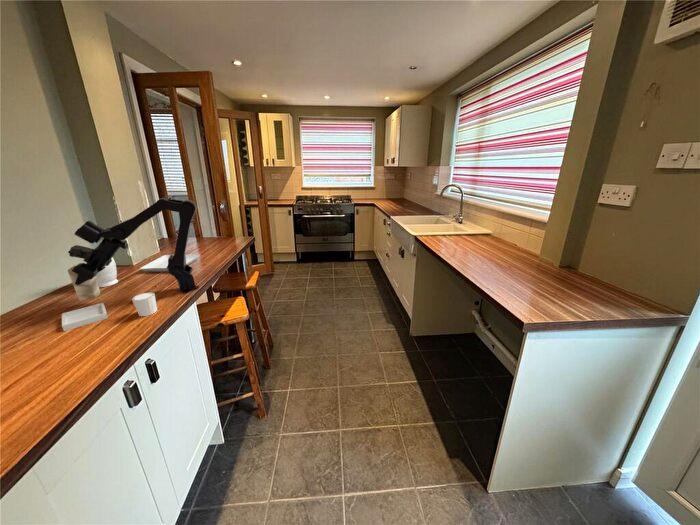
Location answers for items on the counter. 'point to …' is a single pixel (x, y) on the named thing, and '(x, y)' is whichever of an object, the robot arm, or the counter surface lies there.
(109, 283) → the jar
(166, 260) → the salad plate
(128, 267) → the counter surface
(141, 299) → the shot glass
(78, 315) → the tray
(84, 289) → the beech block
